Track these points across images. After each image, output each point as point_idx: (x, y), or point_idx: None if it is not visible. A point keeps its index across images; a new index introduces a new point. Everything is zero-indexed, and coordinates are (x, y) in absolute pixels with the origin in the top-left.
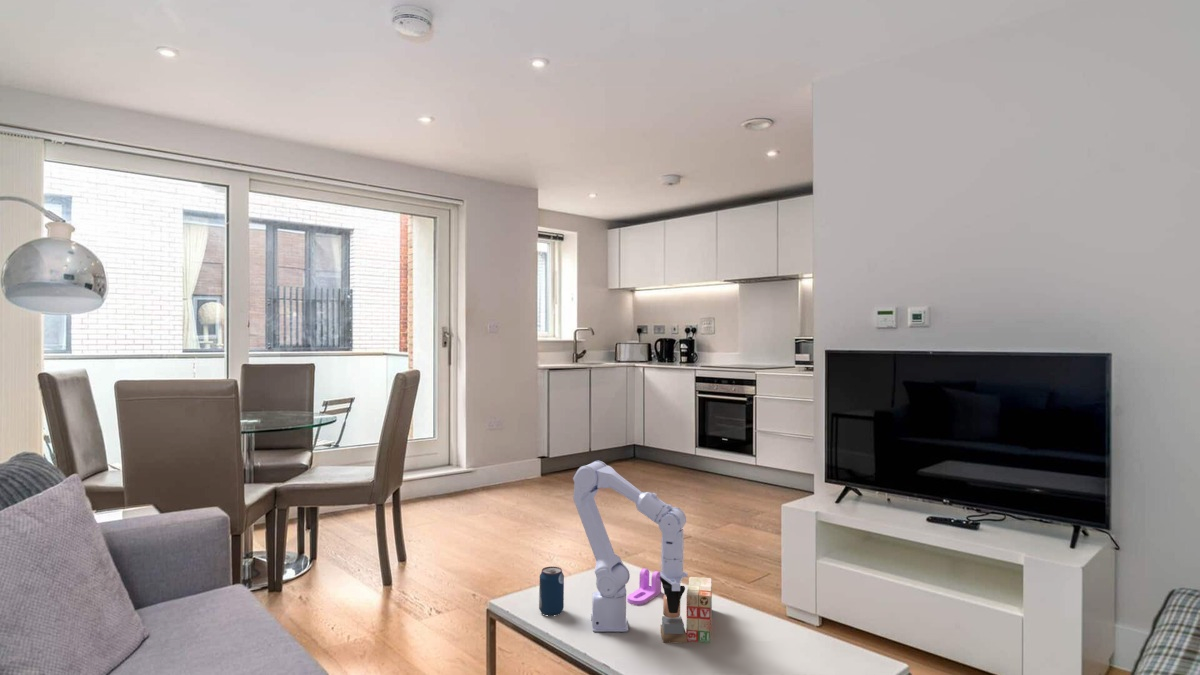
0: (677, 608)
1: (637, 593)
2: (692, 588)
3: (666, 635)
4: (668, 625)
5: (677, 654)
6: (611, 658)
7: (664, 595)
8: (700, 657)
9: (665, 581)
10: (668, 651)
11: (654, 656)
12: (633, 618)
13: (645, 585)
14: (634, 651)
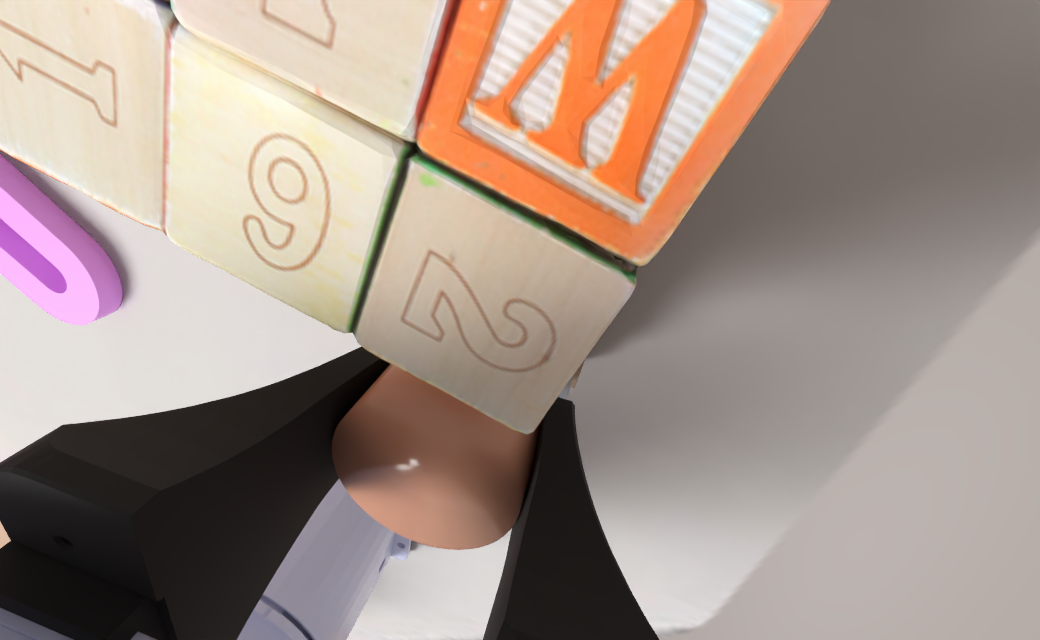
0: (573, 433)
1: (1, 252)
2: (303, 237)
3: (580, 369)
4: (566, 391)
5: (753, 356)
6: (649, 597)
7: (375, 515)
8: (878, 241)
9: (224, 623)
10: (693, 383)
11: (714, 465)
12: (280, 368)
13: None
14: (624, 510)
